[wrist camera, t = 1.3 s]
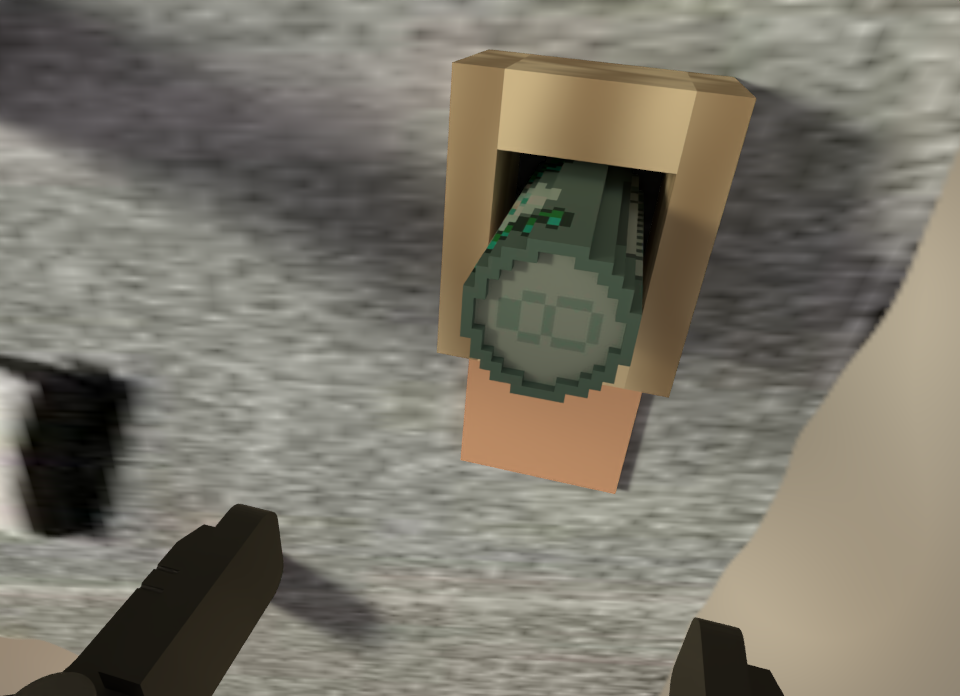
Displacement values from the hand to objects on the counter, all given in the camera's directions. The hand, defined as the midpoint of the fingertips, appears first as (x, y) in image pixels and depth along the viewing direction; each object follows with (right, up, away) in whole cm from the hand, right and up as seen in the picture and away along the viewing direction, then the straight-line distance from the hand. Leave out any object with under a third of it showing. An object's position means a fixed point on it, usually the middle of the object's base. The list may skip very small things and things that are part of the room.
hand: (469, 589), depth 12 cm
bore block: (+6, +13, +22) cm, 26 cm away
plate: (+5, +1, +29) cm, 30 cm away
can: (+6, +13, +22) cm, 26 cm away
